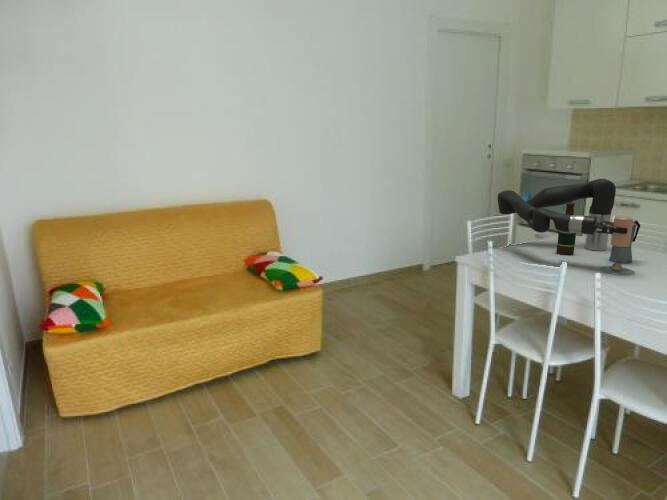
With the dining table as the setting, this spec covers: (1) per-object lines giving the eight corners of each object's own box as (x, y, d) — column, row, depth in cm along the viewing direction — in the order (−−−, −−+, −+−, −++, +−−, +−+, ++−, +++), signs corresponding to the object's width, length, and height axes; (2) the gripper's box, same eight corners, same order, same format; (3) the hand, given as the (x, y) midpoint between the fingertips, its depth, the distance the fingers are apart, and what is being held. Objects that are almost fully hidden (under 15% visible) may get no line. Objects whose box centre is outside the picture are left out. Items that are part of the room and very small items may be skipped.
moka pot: (597, 261, 216) (603, 216, 210) (623, 257, 221) (630, 213, 216) (616, 267, 207) (623, 220, 202) (643, 263, 212) (650, 217, 207)
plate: (595, 266, 208) (595, 265, 207) (630, 269, 204) (630, 267, 203) (601, 276, 196) (601, 274, 195) (638, 278, 192) (638, 276, 192)
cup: (609, 242, 201) (612, 216, 198) (626, 243, 199) (630, 216, 196) (612, 246, 195) (616, 219, 192) (630, 247, 193) (634, 219, 190)
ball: (610, 269, 202) (611, 261, 201) (620, 269, 200) (621, 261, 200) (612, 271, 198) (613, 263, 198) (622, 272, 197) (623, 264, 197)
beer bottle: (570, 251, 232) (576, 201, 226) (576, 256, 224) (583, 203, 218) (553, 251, 233) (558, 201, 226) (559, 255, 225) (564, 203, 219)
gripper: (585, 230, 210) (630, 235, 200) (577, 236, 199) (624, 242, 189) (587, 213, 208) (632, 217, 198) (579, 218, 197) (627, 223, 187)
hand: (628, 229), depth 194 cm, fingers closed on cup, 6 cm apart
